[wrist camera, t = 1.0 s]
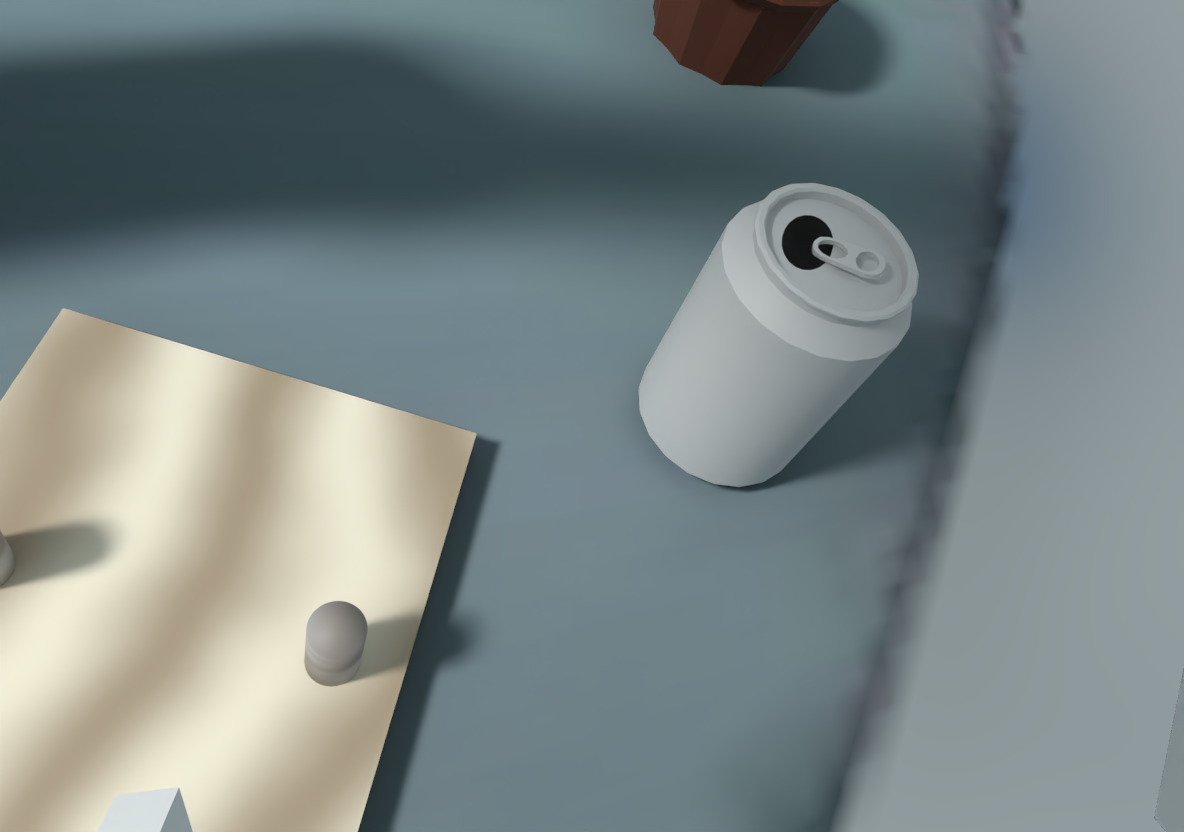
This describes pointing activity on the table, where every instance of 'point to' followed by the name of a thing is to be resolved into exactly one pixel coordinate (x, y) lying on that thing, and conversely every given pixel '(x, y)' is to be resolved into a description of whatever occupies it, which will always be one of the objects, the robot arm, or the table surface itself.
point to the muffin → (736, 35)
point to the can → (777, 332)
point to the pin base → (205, 583)
